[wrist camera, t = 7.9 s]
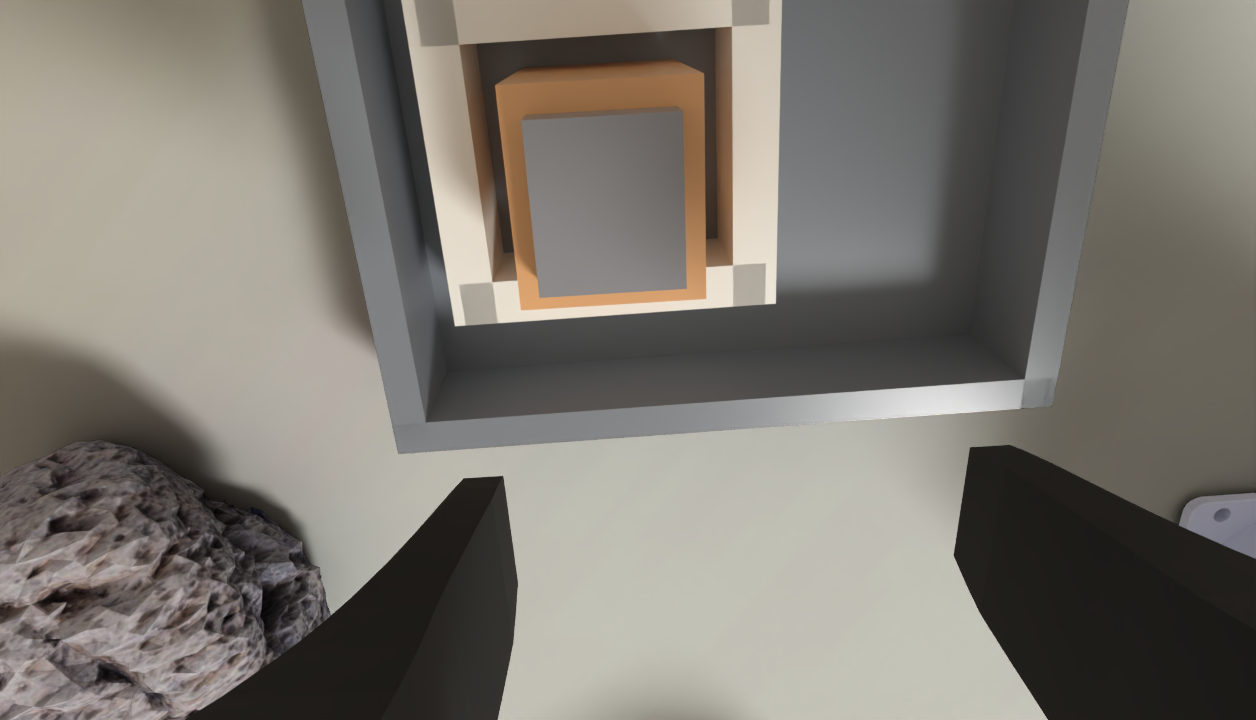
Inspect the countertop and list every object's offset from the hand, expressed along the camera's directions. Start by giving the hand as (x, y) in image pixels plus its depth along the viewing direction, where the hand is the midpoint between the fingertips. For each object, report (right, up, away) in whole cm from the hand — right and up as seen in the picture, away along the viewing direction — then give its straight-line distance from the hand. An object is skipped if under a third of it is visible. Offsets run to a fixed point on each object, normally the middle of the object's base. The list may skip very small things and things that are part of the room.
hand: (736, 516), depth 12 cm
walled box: (0, +8, +7) cm, 11 cm away
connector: (-2, +8, +7) cm, 10 cm away
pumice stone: (-15, -4, +12) cm, 20 cm away
